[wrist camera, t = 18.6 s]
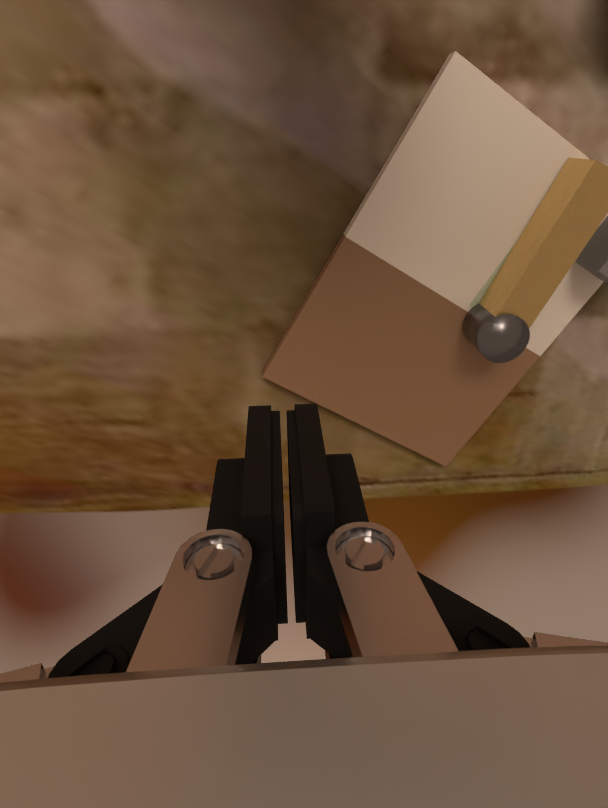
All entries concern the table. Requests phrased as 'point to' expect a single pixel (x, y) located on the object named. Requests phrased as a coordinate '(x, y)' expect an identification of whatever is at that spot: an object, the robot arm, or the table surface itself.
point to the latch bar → (539, 260)
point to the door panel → (434, 272)
